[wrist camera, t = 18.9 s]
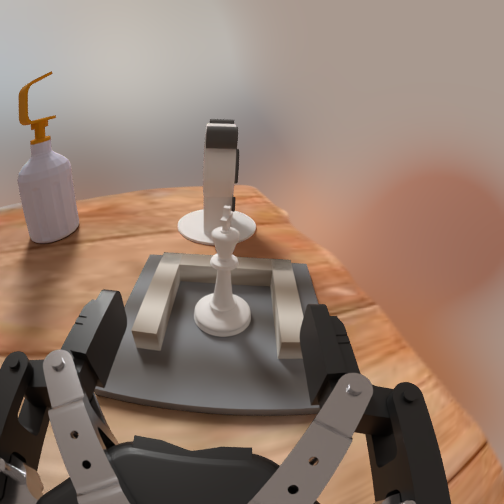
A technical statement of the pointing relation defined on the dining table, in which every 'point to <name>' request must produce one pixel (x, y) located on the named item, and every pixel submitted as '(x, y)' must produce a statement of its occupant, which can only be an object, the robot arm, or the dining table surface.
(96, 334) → the robot arm
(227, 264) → the chess piece
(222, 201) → the panda figurine
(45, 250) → the dining table surface
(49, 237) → the soap bottle
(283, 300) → the u rest
